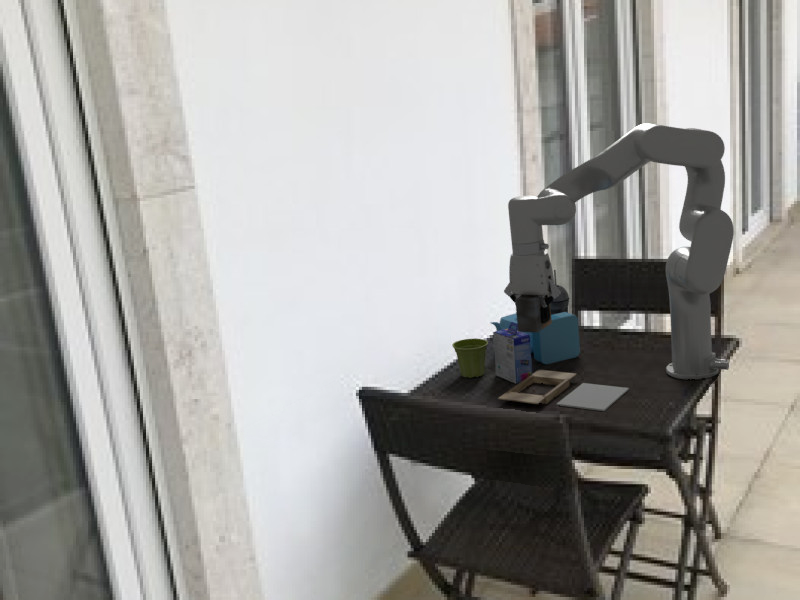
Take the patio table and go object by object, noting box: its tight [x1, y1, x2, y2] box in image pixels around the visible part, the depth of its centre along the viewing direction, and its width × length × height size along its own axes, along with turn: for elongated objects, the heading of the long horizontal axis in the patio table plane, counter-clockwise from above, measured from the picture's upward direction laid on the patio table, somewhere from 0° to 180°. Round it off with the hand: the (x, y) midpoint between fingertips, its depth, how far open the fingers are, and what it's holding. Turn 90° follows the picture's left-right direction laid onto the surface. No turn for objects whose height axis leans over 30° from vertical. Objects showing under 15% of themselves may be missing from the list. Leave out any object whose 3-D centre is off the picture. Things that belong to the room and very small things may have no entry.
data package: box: [532, 312, 581, 365], centre depth 261 cm, size 12×4×12 cm, turn 112°
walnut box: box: [514, 292, 552, 333], centre depth 234 cm, size 5×8×8 cm, turn 145°
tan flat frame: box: [497, 369, 577, 405], centre depth 239 cm, size 11×22×2 cm, turn 145°
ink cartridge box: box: [492, 322, 533, 385], centre depth 250 cm, size 10×6×14 cm, turn 28°
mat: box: [556, 382, 630, 412], centre depth 232 cm, size 12×15×1 cm
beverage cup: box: [549, 269, 570, 315], centre depth 279 cm, size 7×7×20 cm
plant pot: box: [452, 337, 489, 379], centre depth 256 cm, size 9×9×9 cm
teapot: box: [490, 312, 534, 354], centre depth 271 cm, size 12×18×12 cm
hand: (534, 320), depth 234 cm, fingers closed on walnut box, 5 cm apart
